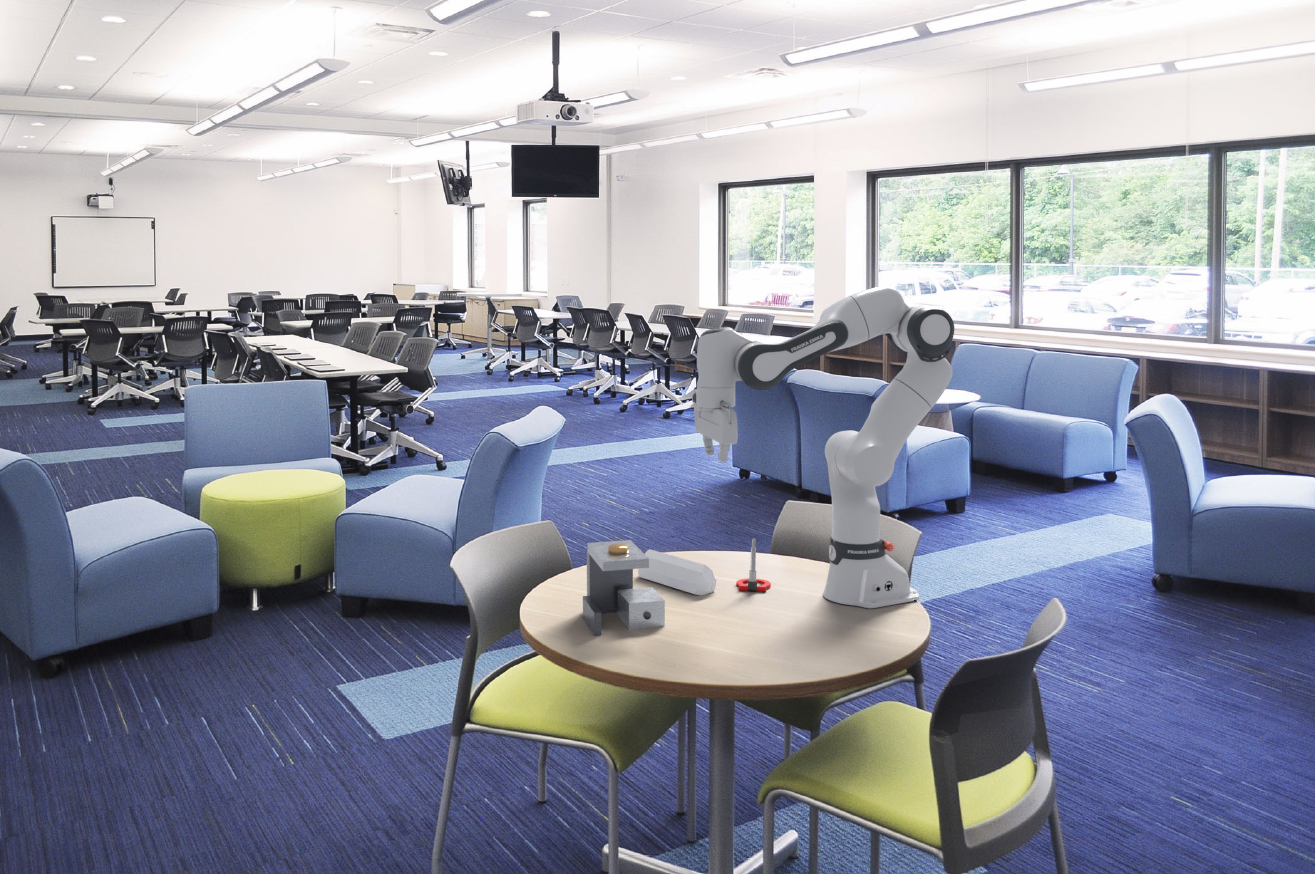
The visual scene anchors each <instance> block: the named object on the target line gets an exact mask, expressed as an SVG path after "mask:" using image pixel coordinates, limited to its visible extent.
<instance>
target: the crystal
mask: <svg viewBox="0 0 1315 874" xmlns="http://www.w3.org/2000/svg"><path fill="white" fill-rule="evenodd" d="M644 554H645V555H646V556H647V557H648V558H649V568H639V569H637V575H638V577H639V578H641V579H645V580H649V581H651V582H655V583H658V584H661V585H664V586H668V587H671V588H674V589H677V590H680V591H682V592H686V593H690V594H693V595H696V596H705V595H709V594H711V593H713V592H714V591H715V589H716V586H717V577H716V575H715V572H714V571H713V569H712V568H710V567H708V566H707V565H706V564H703V563H700V562H696V561H692V560H689V559H687V558H686V559H685V558H681V557H678V556H675V555H671V554H668V553H665V552H661V551H658V550H654V549H647V550H646V552H644Z"/></svg>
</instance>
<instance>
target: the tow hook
mask: <svg viewBox="0 0 1315 874" xmlns="http://www.w3.org/2000/svg"><path fill="white" fill-rule="evenodd" d="M756 559H757V548H756V538H752V539H751V547H750V570H749V573H748V575H749V576H748V577H749V578H742V579H738V580H737V581H736V585H735V586H736V587H738V591H739V592H740V591H741V592H743V591H744V592H748V593H749V592H750V593H752V592H753V593H755V592H756V593H757V592H758V593H759V592H760V593H766V592H767V589H769V588H771V587H772V585H771V582H770V581H768V580H766V579H763V578H762V579H761V578H757V570H756V564H757V562H756ZM758 584H759V585H758Z"/></svg>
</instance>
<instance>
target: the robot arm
mask: <svg viewBox="0 0 1315 874" xmlns="http://www.w3.org/2000/svg"><path fill="white" fill-rule="evenodd" d="M821 312H822V313H821V315H820V317H819V320H818V321H817V323H816V324H815V325H814V326H813V327H812V328H810V329H808V330H807V331H804V332H802V333H799V334H798V335H796V336H794V337H791V338H789V339H787V340H784V341H782V342H779V343H775V344H774V343H773V344H767V343H762V342H761V341H756V340H754V339H751V338H748V337H747V336H744V335H742V334H740V333H738V332H737V331H735V330H734V329H733V328H732V327H729V326H723V327H721V326H720V327H714V328H710V329H708V330H705V331H704V332H702V333H701V334H700V335H699V338H698V341H697V350H696V351H697V353H696V369H697V374H698V379H697V383H696V391H694V392H693V393H692V395H691V399H692V400H691V401H692V403H693V404H694V407H693V411H694V412H693V413H694V426H695V430H696V432H697V433H698V434H700V435H702V441H703V445H704V454H705V455H708V456H712V455H714V454H715V447H714V443H713V442H714V441H715V442H717V443H718V447H719V450H718V451H719V453H717V454H718V455H717V457H718V458H717V460H718V461H719V462H721V463H726V462H728V459H729V457H728V454H729V451H730V449H731V445H736V444H737V443H738V440H739V431H738V417H737V416H738V415H737V413H736V411H735V410H733V408H734V407H735V406H736V382H743V383H744V384H746V386H748V387H749V388H751V389H753V390H758V391H766V390H770V389H773V388H774V387H776V386H777V385H778V384H779V383H781V381H782V380H783V379H784V378H785V377H786V376H787V375H788V374H789V373H790V372H791V371H793V370H794V369H797V368H798V367H800V366H802V365H804V364H807V363H809V362H811V361H814V360H815V359H817V358H819V357H822V356H823V355H825V354H828V353H832V352H835V351H838V350H839V351H840V350H843V349H847V348H850V347H854V346H857V345H860V344H862V343H864V342H867V341H869V340H871V339H873V338H876V337H878V336H882V335H886V337H887V338H888V339H889V341H890V343H892V344H893V346H894V347H895V348H896V349H897V350H899V351H901V352H904V353H905V354H907V355H906V356H907V357H906V362H905V363H904V365H903V367H902V369H901V370H900V371H899V372H898V373H897V374H896V376H895V377H894V378H893V379H892V380H891V382H889V384H888V385H887V386H886V387H885V388H884V390H882V392H881V393H880V394H879V396H878V397H877V398H876V399H875V400H874V402H873V403H872V404H871V407H870V411H869V414H868V417H866V420H865V421H864V423H863V426H862V427H861V428H860V430H859V431H856V430H851V429H850V430H841V431H838V432H835V433H834V434H832V435H831V436H830V437H829V438H828V440H827V441H826V443H825V447H824V456H825V459H826V460H825V461H826V463H827V472H828V482H829V488H830V494H831V495H830V496H831V505H832V506H831V507H832V511H831V512H832V513H831V536H830V538H829V545H828V546H829V547H828V558H829V559H828V560H829V567H828V568H829V569H828V573H827V574H828V575H827V579H826V581H825V583H826V584H825V586H824V590H823V592H822V595H823V597H824V598H825V599H826V600H829V601H830V602H834V603H837V604H842V605H848V606H856V607H861V608H865V609H876V608H883V607H887V606H893V605H898V604H905V603H909V602H910V603H911V602H915V601H914V600H916V601H919V600H920V594H919V593H920V592H918V591H917V590H916V589H915V588H913V587H912V586H911V584H910V578H909V575H908V572H907V570H906V569H905V568H904V567H903V566H901V565H900V564H899V563H898V562H897V561H895V560H894V559H893V558H892V557H890V556H889V555H888V554H887V552H893V551H894V549H895V544H894V543H892V542H890V541H885V540H883V539H881V538H880V530H881V529H880V526H881V524H880V523H881V505H880V502H879V499H878V494H877V491H876V490H877V489H876V487H880V486H882V485H884V484H886V483H887V482H888V481H889V480H890V479H891V478H892V475H893V473H894V470H895V462H896V460H897V459H898V457H899V454H900V452H901V451H902V448H903V447H904V446H905V443H906V442H907V440H908V438H910V436H911V434H912V432H913V431H914V430H915V429H916V427H917V426H918V425H919V424H920V423H921V421H922V420H923V419H924V418H925V417H926V416H927V414H928V413H929V412H930V411H931V410H932V408H933V407H934V406H935V405H936V403H937V402H938V401H939V400H940V399H941V397H942V395H943V394H944V392H945V391H946V389H947V387H948V385H949V384H950V381H951V380H952V378H953V373H954V372H953V368H952V365H951V363H950V362H949V361H948V359H947V358H946V357H948V355H949V354H950V349H951V344H952V341H953V338H954V335H955V323H954V320H953V318H952V317H951V315H950V314H949V313H948V312H947V311H946V310H944V309H942V308H940V307H939V306H934V305H917V306H908V305H907V303H906V302H905V300H904V298H903V295H902V294H901V292H900V291H899V290H897V289H896V287H894V286H891V285H880V286H876V287H872V288H868V289H864V290H861V291H859V292H856V293H853V294H851V295H848V296H845V297H844V298H842V299H839V300H838V301H836V302H835V303H832V304H831V305H829V306H828V307H826V308H825V309H824V310H823V311H821ZM886 551H887V552H886ZM913 599H914V600H913Z"/></svg>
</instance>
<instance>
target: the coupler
mask: <svg viewBox="0 0 1315 874" xmlns="http://www.w3.org/2000/svg"><path fill="white" fill-rule="evenodd" d="M586 544H587V550H586V595H582V619H583V620H584V622H585V623H586V625H587V627H588V628H589V630H590V631H591V632H592V634H593V636H594V637H595V636H602V614H608V613H618V590H624V589H634V570H635V569H637V570H638V569H639V568H649V558H648V557H647V556H646V555H645V552H643V551H642V550H641V549H640V548H639V546H637V545H636V543H634V542H633V541H632V540H631V539H626V540H612V541H598V542H587V543H586Z"/></svg>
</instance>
